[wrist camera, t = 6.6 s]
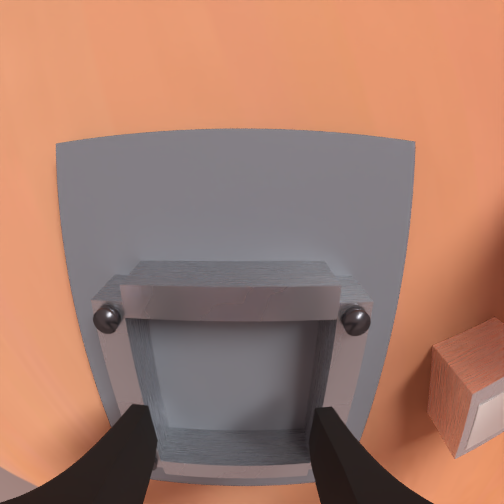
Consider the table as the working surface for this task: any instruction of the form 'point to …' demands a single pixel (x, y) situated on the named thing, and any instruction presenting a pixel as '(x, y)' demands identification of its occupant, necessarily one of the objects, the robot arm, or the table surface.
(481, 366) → the small brown box
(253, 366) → the tray
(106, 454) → the robot arm
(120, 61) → the table surface
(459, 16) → the table surface
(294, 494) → the table surface
